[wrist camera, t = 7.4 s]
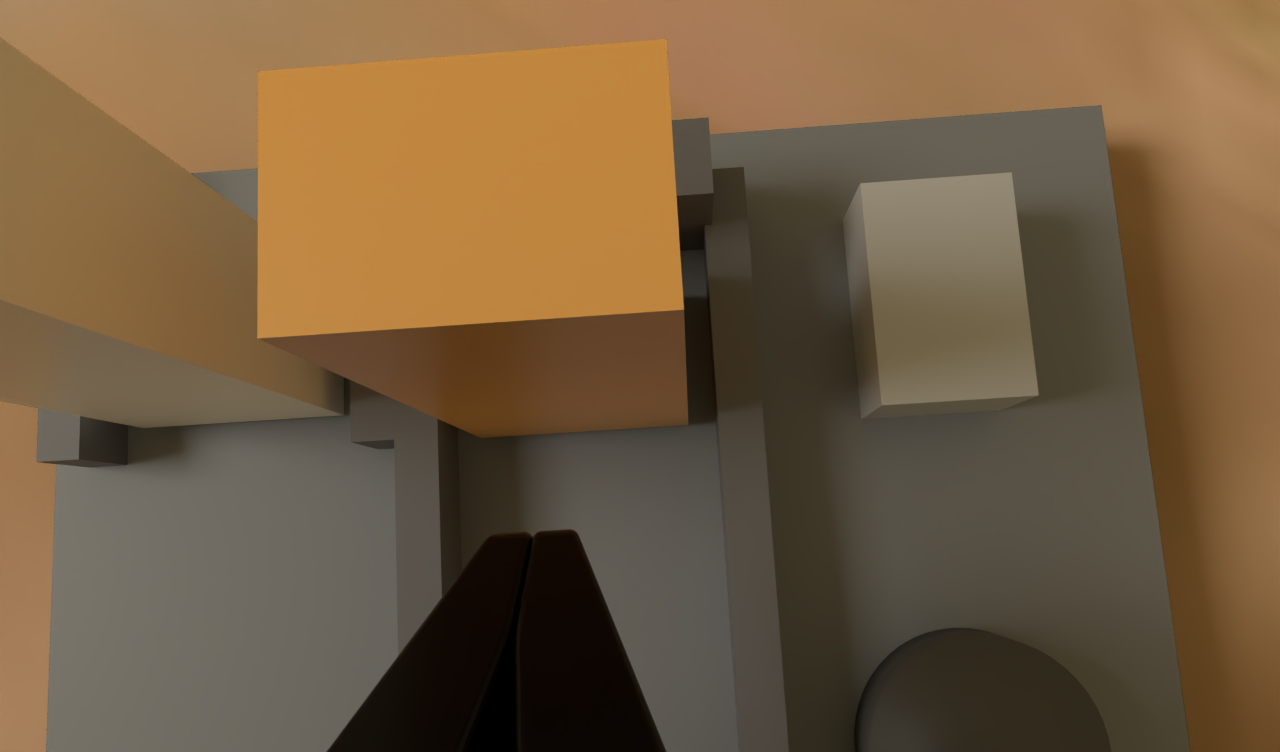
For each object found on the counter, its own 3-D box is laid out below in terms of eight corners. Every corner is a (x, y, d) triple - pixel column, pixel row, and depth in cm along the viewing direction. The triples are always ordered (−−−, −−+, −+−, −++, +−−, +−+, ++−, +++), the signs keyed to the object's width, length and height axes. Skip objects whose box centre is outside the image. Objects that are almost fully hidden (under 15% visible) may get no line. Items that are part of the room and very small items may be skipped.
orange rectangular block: (688, 424, 14) (683, 310, 7) (480, 437, 14) (258, 339, 7) (679, 289, 15) (666, 38, 7) (475, 303, 15) (258, 70, 7)
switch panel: (1166, 922, 15) (1341, 1066, 11) (100, 966, 15) (-107, 1117, 11) (1065, 144, 16) (1182, 21, 13) (119, 213, 17) (-51, 117, 13)
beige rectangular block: (343, 415, 15) (-17, 295, 7) (143, 427, 15) (-414, 322, 7) (342, 282, 15) (-4, 34, 7) (146, 296, 15) (-387, 64, 8)
